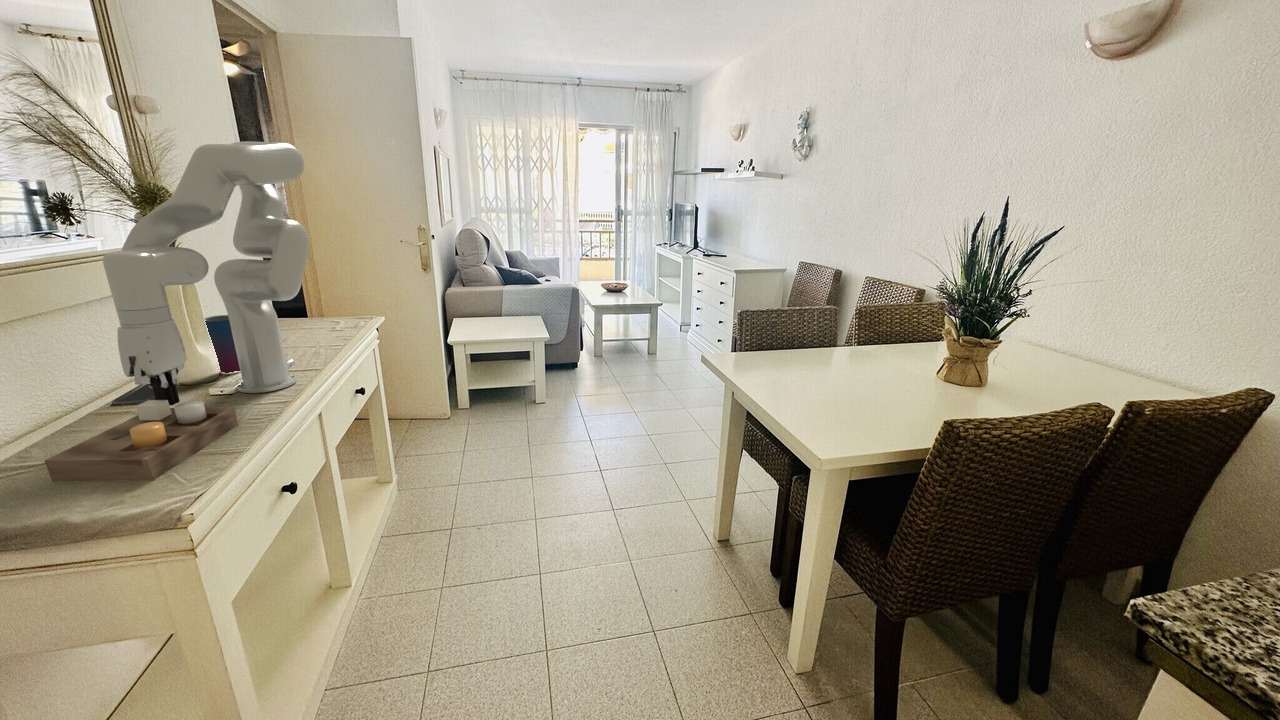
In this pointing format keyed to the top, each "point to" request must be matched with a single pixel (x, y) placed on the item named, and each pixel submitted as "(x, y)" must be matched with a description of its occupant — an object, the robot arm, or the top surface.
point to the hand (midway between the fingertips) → (168, 403)
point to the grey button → (190, 412)
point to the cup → (223, 342)
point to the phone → (136, 395)
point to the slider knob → (153, 410)
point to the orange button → (148, 434)
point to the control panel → (138, 449)
